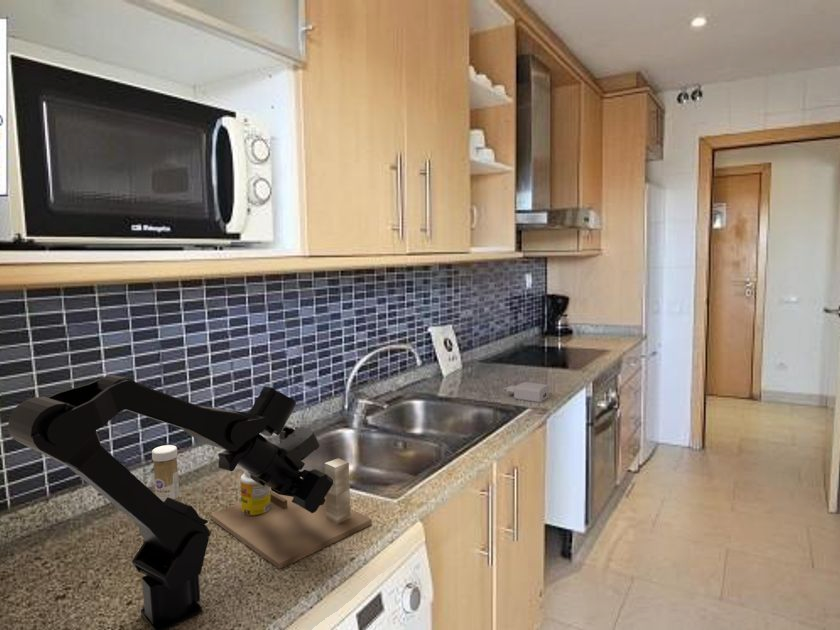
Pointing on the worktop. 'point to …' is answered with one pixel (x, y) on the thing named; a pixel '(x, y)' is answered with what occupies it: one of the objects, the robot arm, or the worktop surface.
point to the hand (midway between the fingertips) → (318, 499)
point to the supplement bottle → (254, 497)
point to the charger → (529, 391)
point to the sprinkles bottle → (166, 472)
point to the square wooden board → (296, 522)
